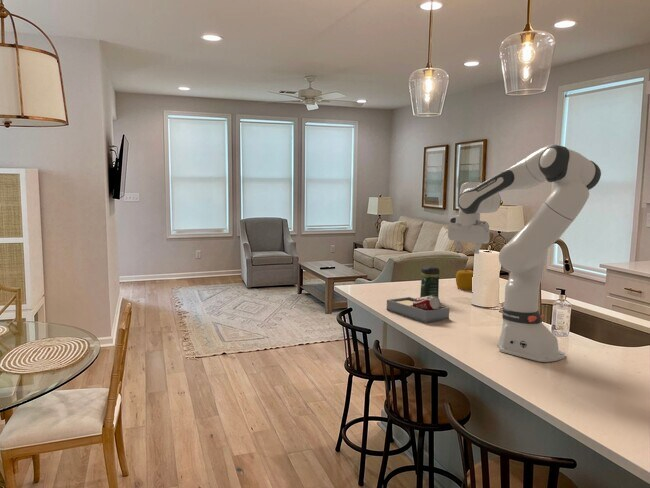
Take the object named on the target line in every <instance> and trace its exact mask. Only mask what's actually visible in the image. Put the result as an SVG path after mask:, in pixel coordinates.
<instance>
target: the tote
mask: <svg viewBox="0 0 650 488" xmlns="http://www.w3.org/2000/svg"><path fill="white" fill-rule="evenodd" d="M415 299H416V298H415V297H411V296H406V297H399V298H389V299H386V311H388V312H391V313H395V314H397V315H400V316H402V315H403V317H404V318H409V319H412V320H414V321H418V322H422V323H423V324H428V323H429V324H430V323H436V322H441V321H446V320H450V307H447V306H443V305H441V304H440V307H439V308H438V309H435V310H428V311H425V310H422V309H418V308H415V307H411V306H408V305H405V304H401V303H398V301H405V300H409V301H412V302H413V301H414V300H415Z"/></svg>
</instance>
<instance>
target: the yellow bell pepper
mask: <svg viewBox="0 0 650 488" xmlns="http://www.w3.org/2000/svg"><path fill="white" fill-rule="evenodd" d="M473 271H474V270H471V269H465V270H464V269H462V270H457V272H456V274H455V283H456V288H457V289H459V290H461V291H462V290H463V291H473V290H472V277H473Z"/></svg>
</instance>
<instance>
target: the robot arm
mask: <svg viewBox="0 0 650 488" xmlns="http://www.w3.org/2000/svg"><path fill="white" fill-rule="evenodd" d="M601 176H602V171H601V169H600V166H599V165H598V164H597V163H596V162H594V161H593V160H590V159H589V158H587V157H585V156H584V155H582V154H581V153H580V152H577V151H575V150H572V149H570V148H567V147H565V146H563V145H558V144H554V143H552V144H548V145H545V146H543V147H541V148H538V149H537V150H535V151H534V152H532V153H530V154H529V155H527V156H526V157H524V158H523V159H521V160H520V161H518V162H516V163H515V164H513V165H512V166H509V167H508V168H507V169H505V170H503V171H501V172H499V173H497V174H495V175H493V176H492V177H490V178H488V179H487V180H485V181H483V182H482V183H481V182H480V181H475V180H474V181H465V182H463V183H462V184H461V186H460V189H459V196H458V200H457V203H458V204H457V205H458V207H459V209H458V214H457V215H455V216H452V217H449V219H448V223H449V225H448V227H447V238H448V240H449V241H450V240H451V241H454V245H455V246H456V252H462V251H463V247H462V246H461V242H464V243H465V242H466V243H473V244H474V243H475V246H476V247H475V248H474V249H473V254H474V255H475V254H476V255H479V254H480V249H481V247H482V244H483V245H484V244H485V245H486V244H489V242H490V238H491V237H490V236H491V235H490V225H489V223H488V222H487V221H486V220H485V221H484V220H481V214H490V213H491V214H492V213H495V212H497V211H498V210H499V208H500V207H501V203H502V198H501V195H500V194H499V193H501V192H505V191H512V190H513V191H514V190H525V189H532V188H534V187H536V186H539V185H541V184H543V183H544V182H546V181H547V182H548V183H553V188H552V191H551V192H550V194H549V195H548V196H547V198H546V199H545V200H544V201H543V203H542V204H541V205H540V207H539V208H538V209H537V210H536V212H535V213H534V215H532V217H531V218H530V219H529V221H528V222H527V223H526V224H524V226H522V227H521V228H520V230H518V231H517V232H516V233H515V234H514V236H513V237H512V238H511V239H510V240H509V241H508V242H507V243H506V244H504V245H503V247H502V248H501V249H500V251H499V252H498V261H499V264H500V265H501V267H502V268H503V269H504V270H506V271H509V272H510V273H509V275H508V280H507V282H506V284H505V287H504V302H503V303H504V305H503V307H502V316H501V318H502V327H501V332H500V336H499V339H498V342H497V347H498V348H499V351H500V352H501V353H505V354H509V355H513V356H517V357H520V358H525V359H528V360H532V361H535V362H539V363H540V362H541V363H550V362H557V361H560V360H563V359H565V357H566V353H565V352H564V351H561V350H559V343H558V341H559V340H558V338H557V336H556V335H554V333H552V331H551V330H549V328H547V326H546V325H545V324H544V323H543V321H542V319H545V314H541V313H540V311H539V310H538V308H539V307H538V306H539V296H540V295H539V294H540V293H539V292H540V285H541V282H542V277H543V273H544V269H545V268H544V267H545V263H546V260H547V258H548V249H550V248H551V246H553V244H555V242H556V241H558V240H559V239H560V238H561V236H563V235H564V233H565V232H566V231H567V229H568V228H569V227H570V225H572V223H573V222H574V221H575V220H576V219H577V217H578V216H579V214H580V213H581V211H582V210H583V208H584V207H585V205H586V203H587V202H588V199H589V197H590V191H589V190H592V189H593V188H594V187H596V185H597V184H598V183H599V181H600V179H601Z"/></svg>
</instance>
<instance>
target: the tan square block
mask: <svg viewBox="0 0 650 488" xmlns="http://www.w3.org/2000/svg"><path fill="white" fill-rule="evenodd" d="M398 303H401V304H405V305H408V306H411V307H413V302H412V301H409V300H405V301H398Z"/></svg>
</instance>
